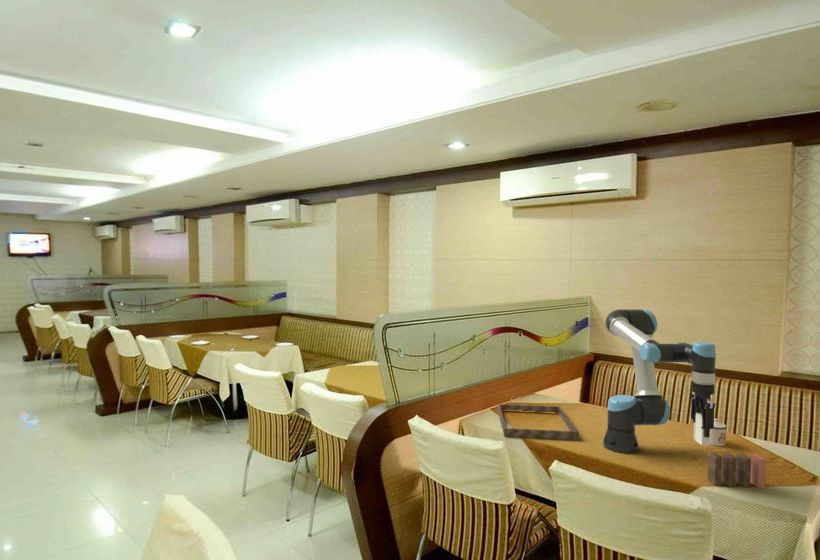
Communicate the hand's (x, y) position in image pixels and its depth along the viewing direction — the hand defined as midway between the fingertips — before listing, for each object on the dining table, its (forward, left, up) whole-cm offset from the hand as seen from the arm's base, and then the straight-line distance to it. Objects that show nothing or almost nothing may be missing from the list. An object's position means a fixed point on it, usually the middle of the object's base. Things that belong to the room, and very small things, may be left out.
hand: (701, 442), depth 183 cm
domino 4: (+16, 0, -16) cm, 22 cm away
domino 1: (0, 0, 0) cm, 0 cm away
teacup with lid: (+29, +46, -16) cm, 57 cm away
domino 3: (+10, 0, -16) cm, 19 cm away
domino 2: (+5, 0, -16) cm, 16 cm away
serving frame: (-54, +60, -16) cm, 82 cm away
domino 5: (+21, 0, -16) cm, 26 cm away
